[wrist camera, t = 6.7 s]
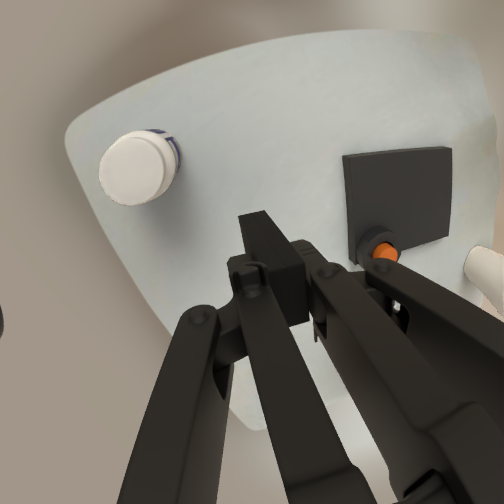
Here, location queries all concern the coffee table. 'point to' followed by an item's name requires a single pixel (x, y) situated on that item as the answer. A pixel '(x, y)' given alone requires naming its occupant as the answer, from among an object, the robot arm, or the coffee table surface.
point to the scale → (397, 199)
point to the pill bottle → (139, 166)
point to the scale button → (385, 252)
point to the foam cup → (487, 274)
